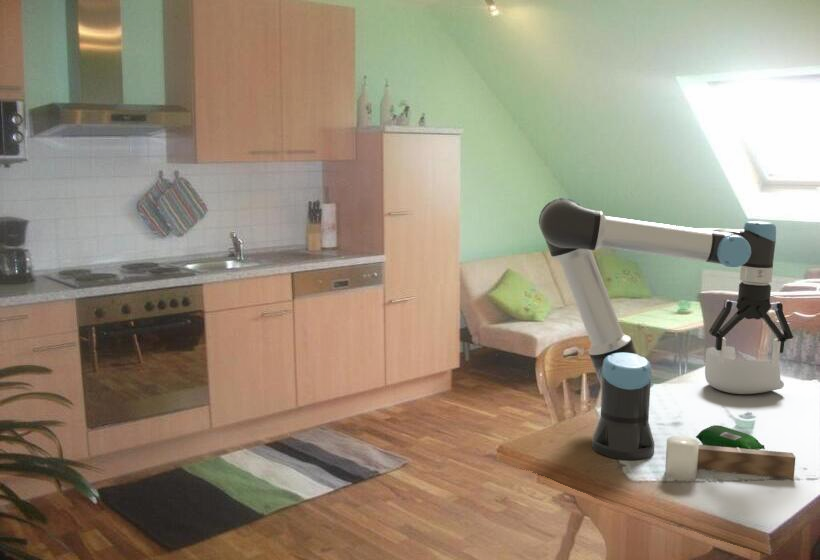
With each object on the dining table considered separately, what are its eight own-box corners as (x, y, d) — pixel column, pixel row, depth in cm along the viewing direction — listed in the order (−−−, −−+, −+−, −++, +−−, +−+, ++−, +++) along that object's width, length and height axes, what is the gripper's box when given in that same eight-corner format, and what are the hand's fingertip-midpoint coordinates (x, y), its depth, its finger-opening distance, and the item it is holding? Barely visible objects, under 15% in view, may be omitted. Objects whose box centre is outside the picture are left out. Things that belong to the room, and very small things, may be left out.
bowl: (690, 383, 265) (693, 347, 263) (740, 378, 270) (743, 343, 268) (732, 401, 246) (735, 363, 244) (785, 395, 252) (788, 358, 250)
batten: (692, 468, 194) (694, 448, 193) (691, 464, 197) (693, 443, 196) (793, 478, 188) (795, 457, 188) (791, 473, 191) (792, 452, 190)
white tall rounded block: (665, 478, 188) (667, 445, 187) (664, 467, 195) (666, 434, 193) (698, 481, 186) (700, 448, 185) (695, 470, 193) (697, 437, 192)
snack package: (748, 464, 197) (750, 443, 196) (693, 444, 210) (694, 425, 209) (765, 458, 201) (767, 438, 200) (710, 439, 214) (711, 420, 213)
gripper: (709, 283, 206) (702, 365, 209) (812, 286, 204) (803, 369, 207) (701, 278, 213) (694, 357, 216) (800, 282, 211) (792, 362, 215)
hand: (747, 363), depth 212 cm, fingers open, 13 cm apart
